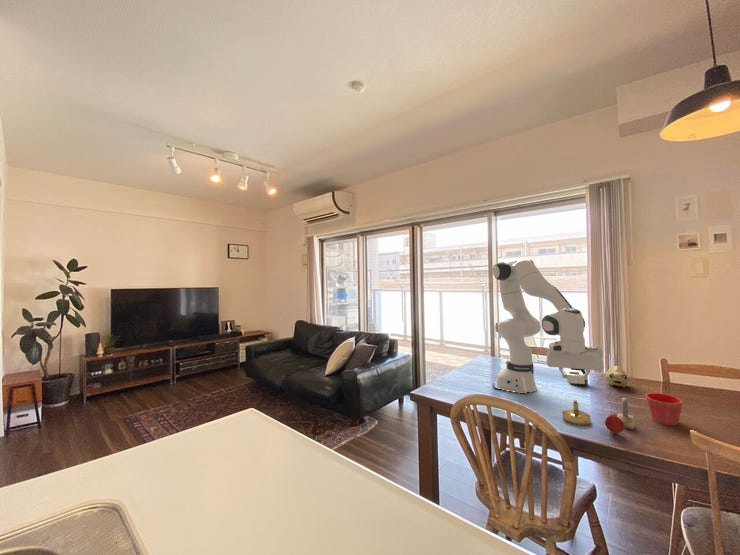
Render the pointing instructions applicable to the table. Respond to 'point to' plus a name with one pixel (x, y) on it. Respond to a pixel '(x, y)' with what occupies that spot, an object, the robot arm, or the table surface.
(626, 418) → the stand
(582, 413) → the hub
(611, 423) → the red rounded piece
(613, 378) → the toy pig
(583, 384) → the ink bottle
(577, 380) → the white flat block
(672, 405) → the flower pot
